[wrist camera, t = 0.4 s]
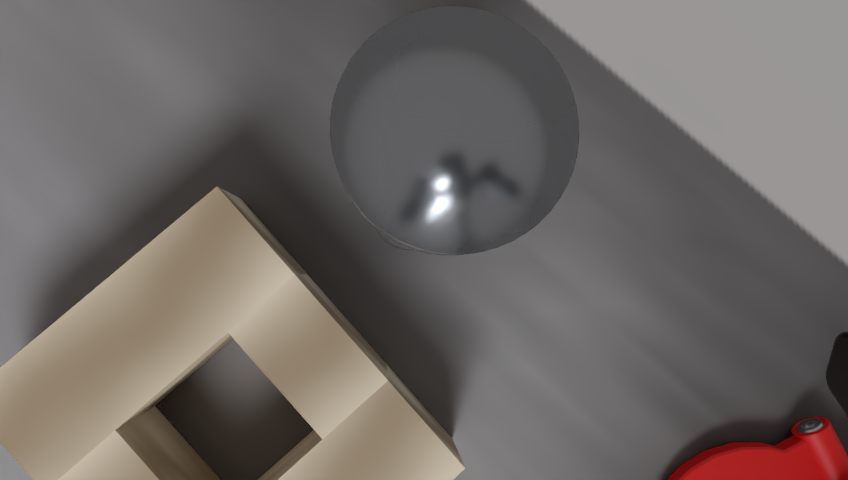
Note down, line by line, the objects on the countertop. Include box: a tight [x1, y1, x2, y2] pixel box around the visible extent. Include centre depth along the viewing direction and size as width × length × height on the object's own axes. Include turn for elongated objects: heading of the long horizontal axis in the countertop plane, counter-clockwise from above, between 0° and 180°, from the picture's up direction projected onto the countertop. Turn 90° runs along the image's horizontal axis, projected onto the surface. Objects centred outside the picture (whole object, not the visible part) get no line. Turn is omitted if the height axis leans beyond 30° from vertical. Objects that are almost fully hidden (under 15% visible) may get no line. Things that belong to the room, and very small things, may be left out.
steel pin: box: [330, 6, 579, 255], centre depth 17 cm, size 4×4×14 cm
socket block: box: [0, 187, 465, 480], centre depth 21 cm, size 12×10×4 cm
